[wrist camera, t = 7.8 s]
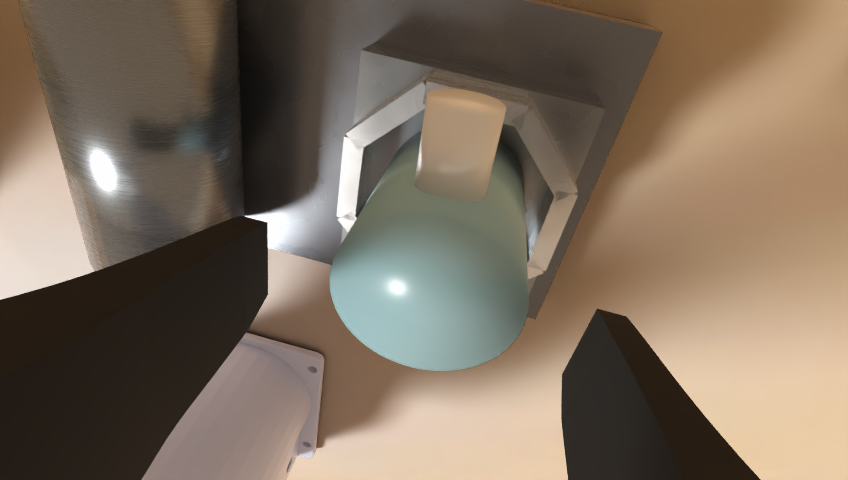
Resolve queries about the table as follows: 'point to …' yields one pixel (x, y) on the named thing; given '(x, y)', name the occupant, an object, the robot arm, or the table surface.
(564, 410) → the robot arm
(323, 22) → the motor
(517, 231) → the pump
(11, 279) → the table surface
